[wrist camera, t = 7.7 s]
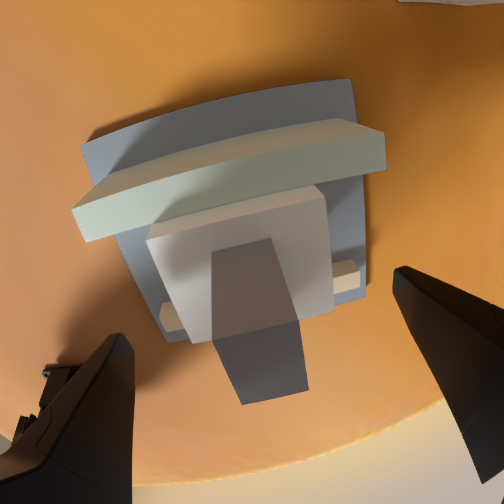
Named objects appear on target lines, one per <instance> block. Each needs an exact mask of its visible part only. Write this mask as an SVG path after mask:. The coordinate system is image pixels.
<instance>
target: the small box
mask: <svg viewBox="0 0 504 504" xmlns="http://www.w3.org/2000/svg"><path fill="white" fill-rule="evenodd" d="M398 1H399V2H430V3H444V4H454V5H463V6H472V5H481V4H491V3H504V0H398Z"/></svg>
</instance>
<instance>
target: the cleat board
mask: <svg viewBox="0 0 504 504" xmlns="http://www.w3.org/2000/svg"><path fill="white" fill-rule="evenodd" d="M80 147H81V150H82V153H83V156H84V159H85V162H86V165H87V168H88V171H89V174H90V176H91V179H92V182H93V185H94V188H93V189H92V190H91V191H89V192H88V193H87V194H86V195H85V196H84V197H83V198H82V199H81V200H80V201H79V202H78V203H77V204H76V205H75V206H74V207H73V208H72V209H71V210H72V213H73V215H74V217H75V220H76V222H77V224H78V227H79V229H80V231H81V233H82V235H83V238H84V240H85V242H86V243H88V242H91V241H94V240H97V239H101V238H104V237H107V236H111V235H114V237H115V239H116V241H117V244H118V246H119V248H120V250H121V253H122V255H123V257H124V259H125V261H126V263H127V266H128V268H129V270H130V272H131V274H132V276H133V278H134V280H135V282H136V284H137V286H138V288H139V290H140V292H141V294H142V296H143V298H144V300H145V302H146V304H147V306H148V308H149V310H150V312H151V314H152V316H153V318H154V319H155V321H156V323H157V325H158V327H159V329H160V331H161V332H162V334H163V336H164V338H165V340H166V341H167V343H173V342H178V341H184V340H189V339H190V338H189V336H188V334H187V332H186V330H185V328H184V326H183V324H182V322H181V320H180V318H179V315H178V313H177V311H176V309H175V307H174V305H173V303H172V301H171V298H170V296H169V294H168V292H167V290H166V287H165V285H164V283H163V281H162V278H161V276H160V274H159V272H158V269H157V267H156V265H155V262H154V260H153V257H152V255H151V253H150V250H149V248H148V245H147V243H146V241H145V240H146V238H147V235H148V233H149V231H150V228H151V226H152V223H155V222H159V221H163V220H166V219H170V218H174V217H177V216H181V215H185V214H189V213H193V212H196V211H200V210H204V209H208V208H212V207H216V206H220V205H224V204H228V203H232V202H236V201H241V200H245V199H249V198H253V197H257V196H262V195H266V194H271V193H275V192H279V191H284V190H289V189H293V188H298V187H302V186H307V185H312V184H314V185H315V187H316V188H317V189H318V190H319V191H320V192H321V193H322V194H323V195H324V196H325V200H326V209H327V218H328V228H329V238H330V249H331V261H332V274H333V289H334V306H336V305H340V304H343V303H347V302H350V301H354V300H357V299H361V298H364V297H366V230H365V205H364V188H363V174H368V173H374V172H379V171H385V170H387V164H386V149H385V136H384V132H381V131H378V130H375V129H372V128H369V127H366V126H363V125H360V124H357V117H356V110H355V103H354V96H353V89H352V83H351V79H335V80H325V81H317V82H309V83H301V84H294V85H287V86H281V87H275V88H269V89H264V90H259V91H253V92H248V93H244V94H239V95H234V96H230V97H225V98H221V99H217V100H213V101H209V102H205V103H201V104H197V105H194V106H190V107H186V108H183V109H179V110H176V111H173V112H169V113H166V114H163V115H160V116H156V117H153V118H150V119H147V120H144V121H141V122H138V123H136V124H133V125H130V126H127V127H124V128H122V129H119V130H116V131H114V132H111V133H109V134H106V135H103V136H101V137H98V138H96V139H94V140H91V141H89V142H86V143H84V144H82V145H80Z"/></svg>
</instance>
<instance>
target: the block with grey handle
mask: <svg viewBox="0 0 504 504" xmlns="http://www.w3.org/2000/svg"><path fill="white" fill-rule="evenodd" d="M145 241H146V243H147V245H148V248H149V250H150V253H151V255H152V257H153V260H154V262H155V265H156V267H157V269H158V272H159V274H160V276H161V278H162V281H163V283H164V285H165V287H166V290H167V292H168V294H169V296H170V298H171V301H172V303H173V305H174V307H175V309H176V311H177V313H178V315H179V318H180V320H181V322H182V324H183V326H184V328H185V330H186V332H187V334H188V336H189V338H190V340H191V342H192V344H195V343H201V342H206V341H211V340H212V341H213V344H214V346H215V348H216V350H217V352H218V355H219V357H220V359H221V361H222V363H223V366H224V368H225V370H226V372H227V374H228V376H229V379H230V381H231V383H232V385H233V387H234V389H235V391H236V393H237V395H238V397H239V400H240V402H241V404H242V405H244V404H249V403H255V402H260V401H264V400H269V399H274V398H278V397H283V396H287V395H291V394H296V393H300V392H304V391H308V390H309V388H308V381H307V374H306V367H305V360H304V353H303V346H302V339H301V333H300V326H299V321H300V320H304V319H307V318H311V317H315V316H319V315H323V314H326V313H330V312H334V311H335V307H334V289H333V274H332V261H331V249H330V238H329V228H328V218H327V209H326V200H325V196H324V195H323V194H322V193H321V192H320V191H319V190H318V189H317V188H316V187H315V185H314V184H312V185H307V186H302V187H298V188H293V189H289V190H284V191H279V192H275V193H271V194H266V195H262V196H257V197H253V198H249V199H245V200H241V201H236V202H232V203H228V204H224V205H220V206H216V207H212V208H208V209H204V210H200V211H196V212H193V213H189V214H185V215H181V216H177V217H174V218H170V219H166V220H163V221H159V222H155V223H152V226H151V228H150V231H149V233H148V235H147V238H146V240H145Z"/></svg>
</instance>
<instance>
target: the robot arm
mask: <svg viewBox="0 0 504 504" xmlns="http://www.w3.org/2000/svg"><path fill="white" fill-rule="evenodd" d="M392 290H393V295H394V297H395V299H396V301H397V304H398V306H399V308H400V310H401V313H402V315H403V317H404V319H405V322H406V324H407V326H408V329H409V331H410V333H411V335H412V337H413V338H414V340H415V342H416V344H417V346H418V347H419V349H420V351H421V353H422V355H423V357H424V358H425V360H426V362H427V364H428V366H429V368H430V370H431V372H432V373H433V375H434V377H435V379H436V381H437V383H438V385H439V387H440V389H441V391H442V393H443V395H444V397H445V399H446V401H447V403H448V406H449V407H450V409H451V412H452V414H453V416H454V418H455V420H456V423H457V425H458V427H459V429H460V432H461V433H462V436H463V439H464V441H465V443H466V446H467V448H468V450H469V453H470V455H471V458H472V460H473V463H474V465H475V468H476V470H477V473H478V476H479V478H480V481H481V483H482V484H484V483H485V482H487V481H488V480H490V479H491V478H493V477H494V476H496V475H497V474H498V473H500V472H501V471H502V470H504V309H502V308H500V307H498V306H496V305H494V304H490V303H489V302H487V301H485V300H483V299H481V298H479V297H476V296H474V295H472V294H470V293H468V292H465V291H463V290H461V289H459V288H457V287H454V286H452V285H450V284H448V283H445V282H443V281H441V280H439V279H436V278H434V277H432V276H430V275H427V274H425V273H423V272H420V271H418V270H416V269H413V268H411V267H409V266H401V267H398V268H396V269H395V270H394V274H393V287H392ZM42 375H43V376H44V377H45V378H46V379H47V382H46V385H45V388H44V390H43V393H42V396H41V399H40V402H39V407H40V408H41V409H40V412H39V415H38V418H36V416H35V415H33V414H30V416H29V418H28V417H25V416H20V419H19V422H18V425H17V428H16V431H15V434H14V437H13V441H12V444H11V447H10V448H9V449H8V450H7V451H6V452H4V453H3V454H1V455H0V504H132V444H133V422H134V405H135V355H134V351H133V348H132V347H131V345H130V344H129V342H128V341H127V339H126V337H125V336H124V335H123V334H122V333H114V334H110V335H109V336H108V337H107V338H106V340H105V341H104V342H103V343H102V344H101V345H100V346H99V347H98V348H97V350H96V351H95V352H94V353H93V354H92V355H91V356H90V357H89V359H88V360H87V361H86V362H85V363H84V364H83V365H82V366H75V367H64V368H50V369H44V370H43V372H42ZM501 504H504V498H503V500H502V503H501Z"/></svg>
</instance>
